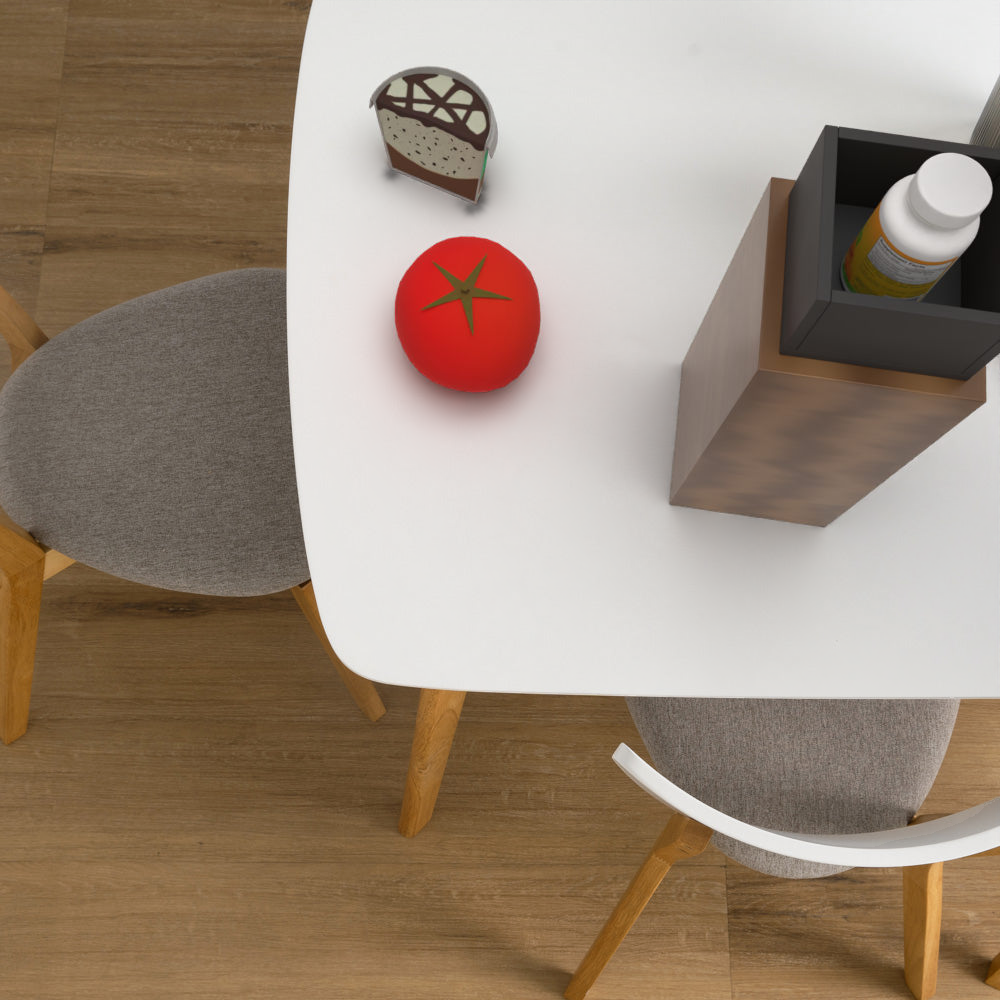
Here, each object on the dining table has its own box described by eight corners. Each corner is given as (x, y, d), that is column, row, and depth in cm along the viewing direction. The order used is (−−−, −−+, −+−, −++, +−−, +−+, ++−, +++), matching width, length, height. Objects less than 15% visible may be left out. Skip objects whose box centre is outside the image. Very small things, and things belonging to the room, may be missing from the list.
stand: (831, 384, 90) (985, 205, 63) (825, 527, 85) (987, 402, 59) (682, 362, 90) (771, 176, 63) (668, 504, 86) (758, 369, 59)
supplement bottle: (874, 225, 61) (946, 122, 52) (941, 280, 60) (1027, 184, 51) (820, 277, 60) (883, 181, 51) (887, 334, 59) (965, 246, 50)
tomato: (393, 279, 92) (383, 215, 82) (527, 269, 92) (534, 204, 82) (404, 418, 87) (395, 369, 77) (544, 407, 88) (554, 356, 78)
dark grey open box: (966, 219, 62) (1024, 151, 56) (967, 381, 59) (1028, 329, 53) (788, 194, 63) (825, 123, 56) (778, 354, 59) (816, 299, 53)
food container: (516, 162, 96) (521, 91, 86) (490, 210, 94) (492, 143, 84) (404, 116, 97) (397, 41, 88) (376, 163, 95) (366, 92, 86)
